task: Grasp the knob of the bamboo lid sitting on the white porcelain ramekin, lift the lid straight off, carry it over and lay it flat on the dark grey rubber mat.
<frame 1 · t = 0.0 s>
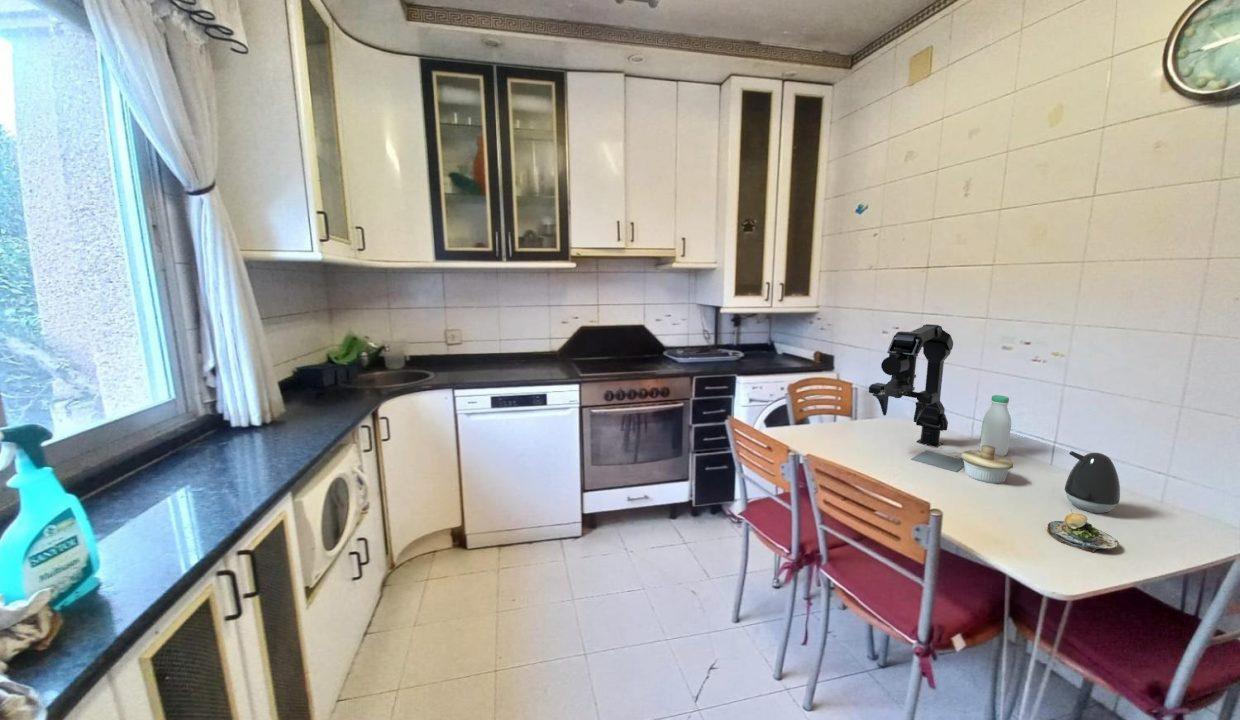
hand: (899, 418, 152), 15 cm above the table, fingers open, 9 cm apart
pump dispenser: (1087, 508, 123), on the table
lid: (986, 461, 141), point 5 cm above the table, touching ramekin
mat: (940, 460, 155), on the table
oval plate with food: (1080, 541, 108), on the table
milk bottle: (992, 453, 162), on the table
ramekin: (984, 478, 142), on the table, touching lid
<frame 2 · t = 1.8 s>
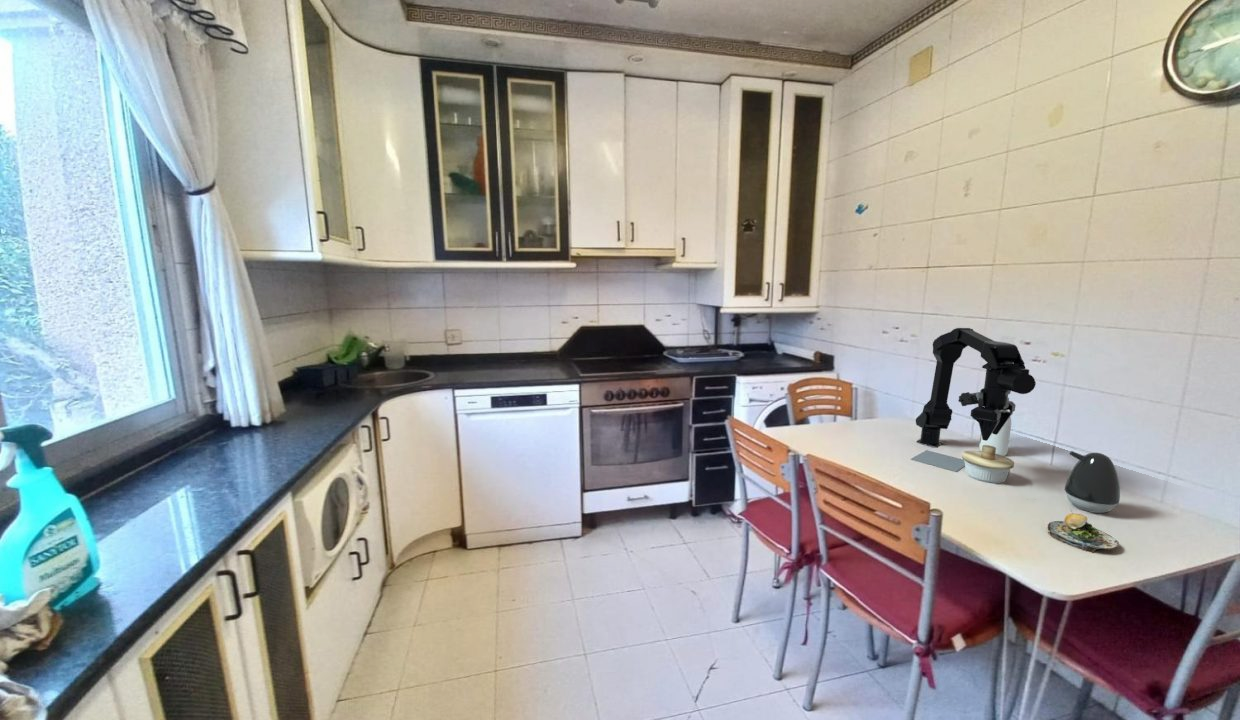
hand: (989, 437, 140), 13 cm above the table, fingers open, 9 cm apart
nothing on the table moved.
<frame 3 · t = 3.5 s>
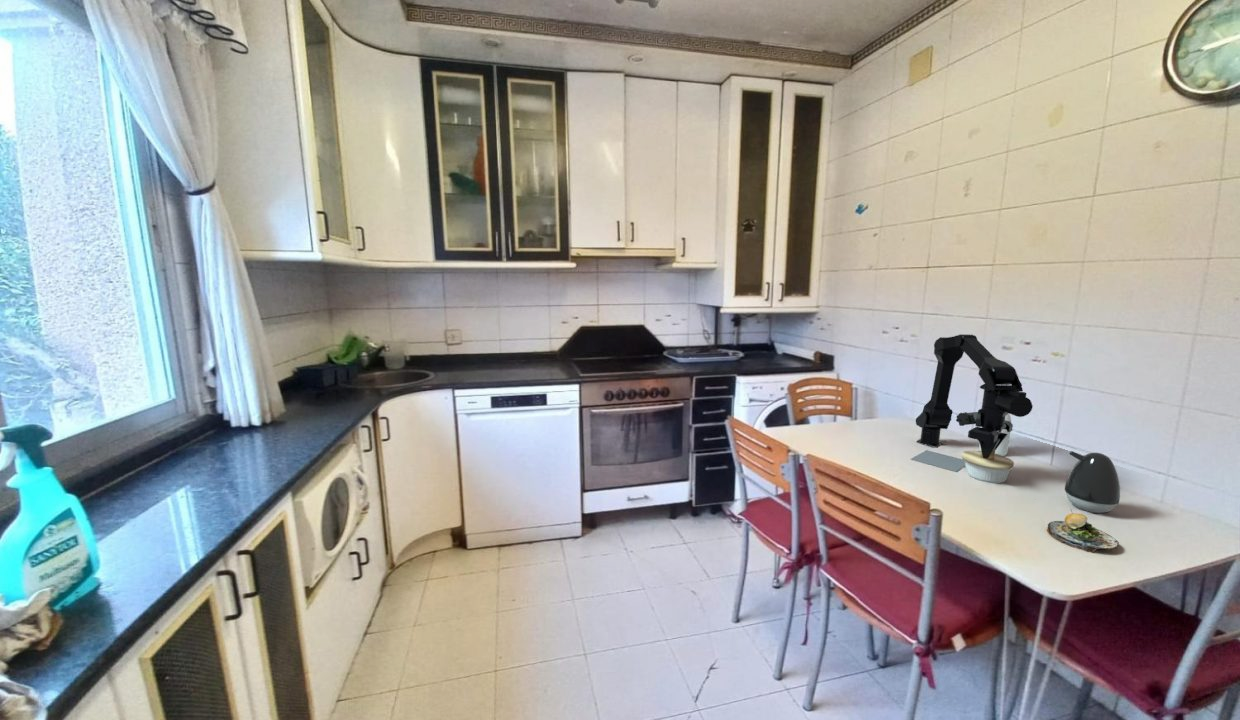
hand: (987, 457, 141), 6 cm above the table, fingers closed on lid, 3 cm apart
lid: (986, 461, 141), point 5 cm above the table, touching gripper, ramekin
everything else where it was.
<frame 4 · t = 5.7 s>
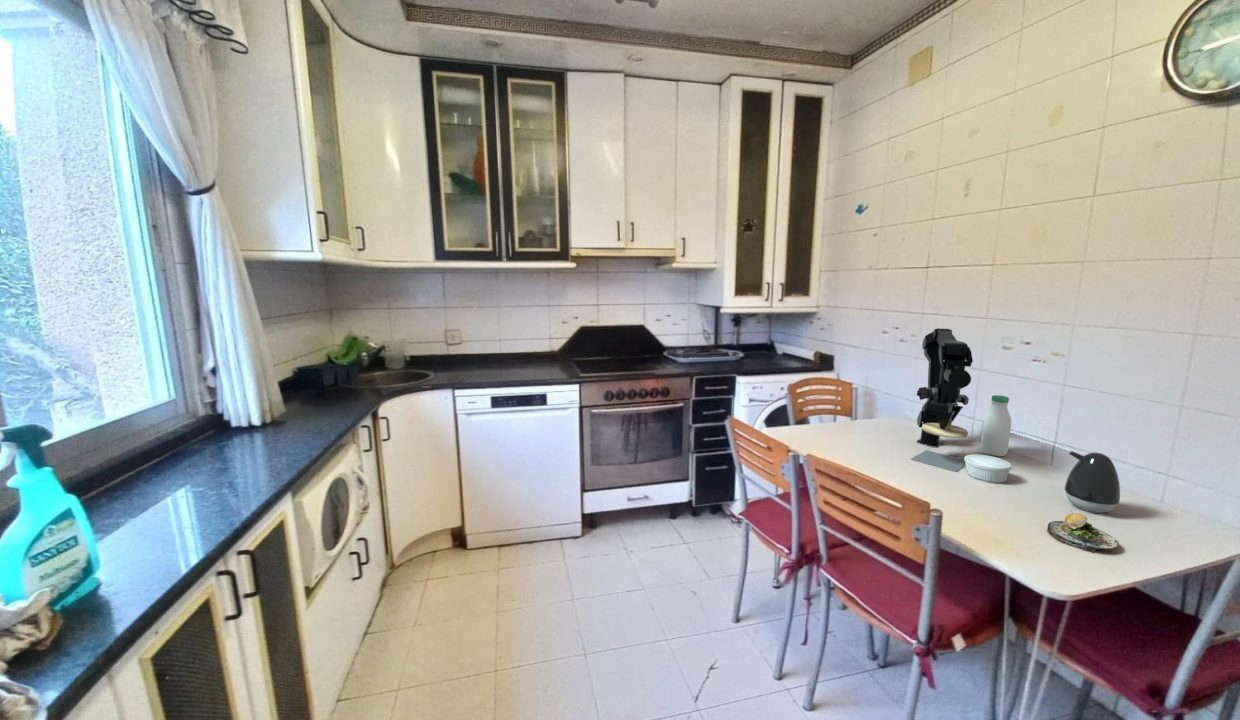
hand: (944, 428, 153), 11 cm above the table, fingers closed on lid, 3 cm apart
lid: (944, 431, 153), point 10 cm above the table, touching gripper
ramekin: (985, 477, 143), on the table
everything else where it was.
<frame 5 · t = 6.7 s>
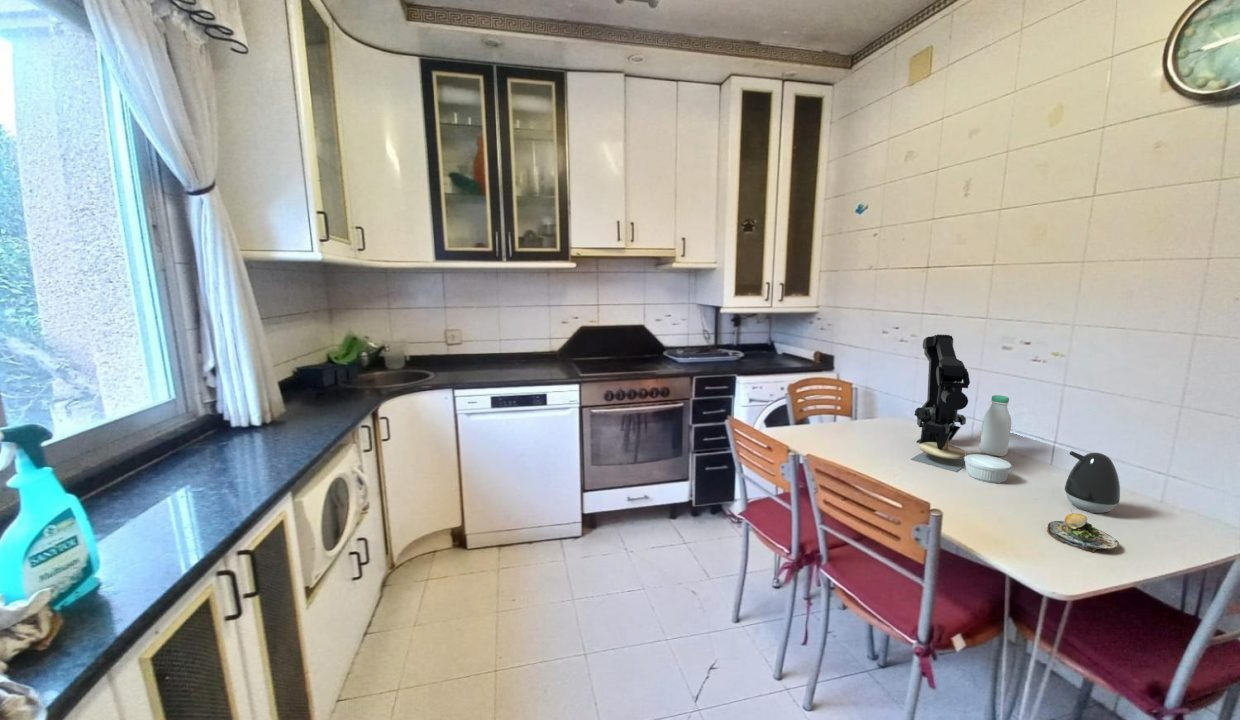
hand: (942, 447, 154), 4 cm above the table, fingers closed on lid, 3 cm apart
lid: (941, 451, 154), point 3 cm above the table, touching gripper
everything else where it was.
when the fingers open (3 cm above the table, at t = 7.8 s): lid drops 1 cm, resting on mat.
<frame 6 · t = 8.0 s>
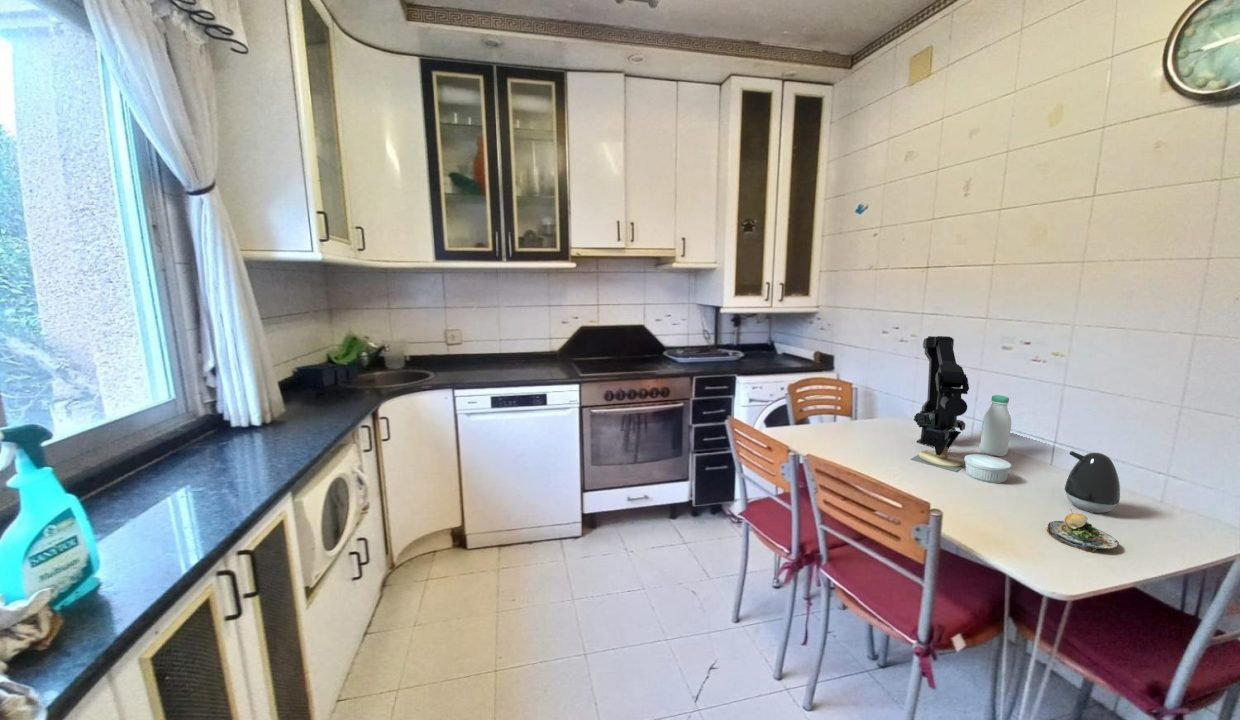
hand: (941, 453, 154), 3 cm above the table, fingers open, 5 cm apart
lid: (940, 460, 155), resting on mat
everything else where it was.
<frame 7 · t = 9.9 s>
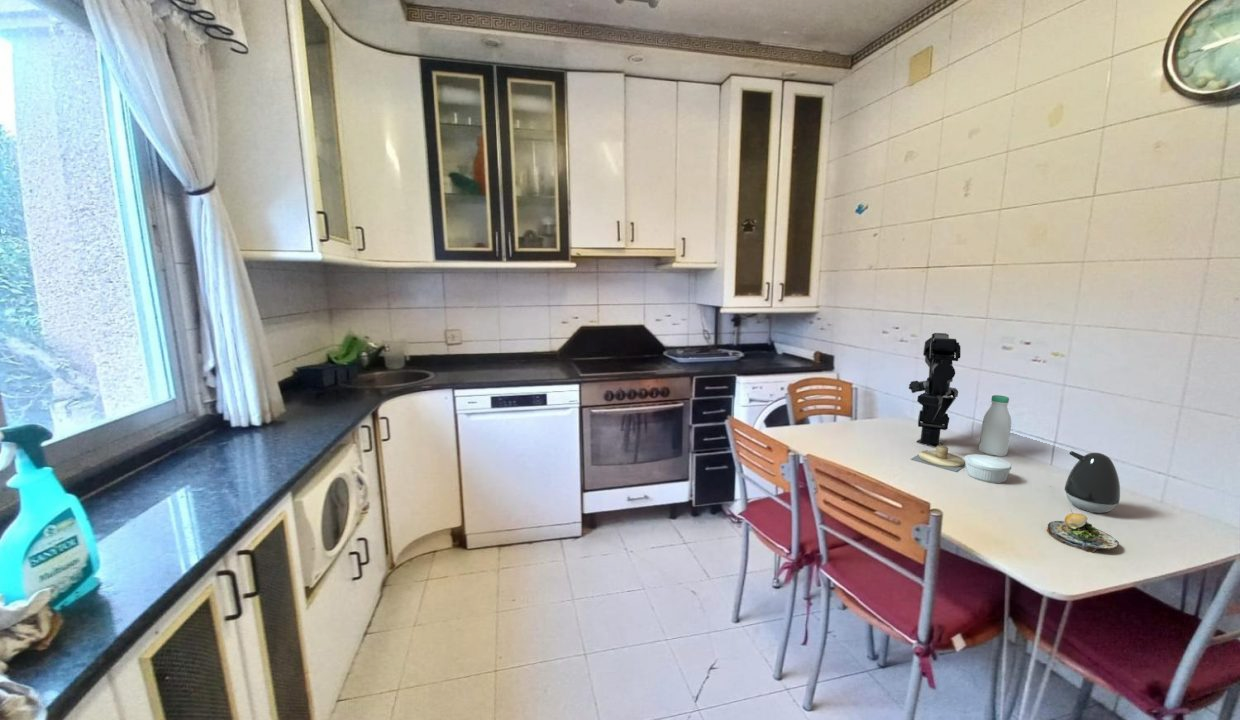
hand: (935, 419, 160), 12 cm above the table, fingers open, 9 cm apart
nothing on the table moved.
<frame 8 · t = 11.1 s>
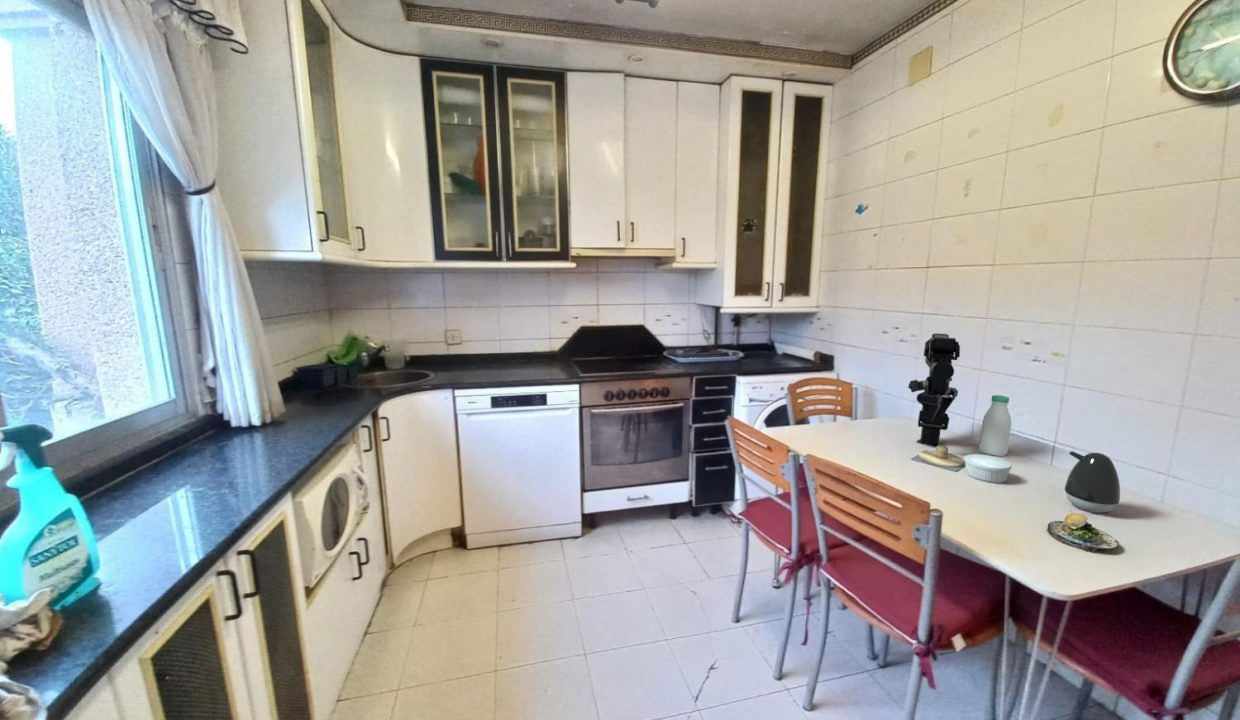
hand: (934, 419, 160), 12 cm above the table, fingers open, 9 cm apart
nothing on the table moved.
at the end: lid resting on mat; lid tilted 0°; lid 0.1 cm from the mat (horizontally) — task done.
